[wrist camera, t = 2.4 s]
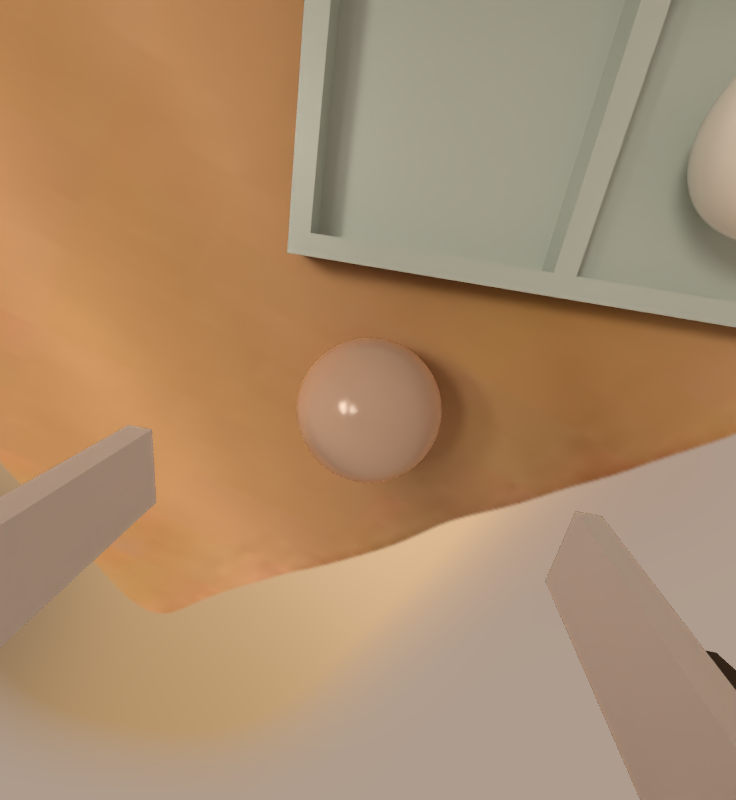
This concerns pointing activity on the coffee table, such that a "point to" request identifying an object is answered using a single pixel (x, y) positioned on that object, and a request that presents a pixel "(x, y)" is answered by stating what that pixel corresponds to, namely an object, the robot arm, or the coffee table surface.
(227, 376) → the coffee table surface
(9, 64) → the coffee table surface
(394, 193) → the divided tray
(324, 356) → the pink ball
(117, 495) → the robot arm
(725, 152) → the cream egg
